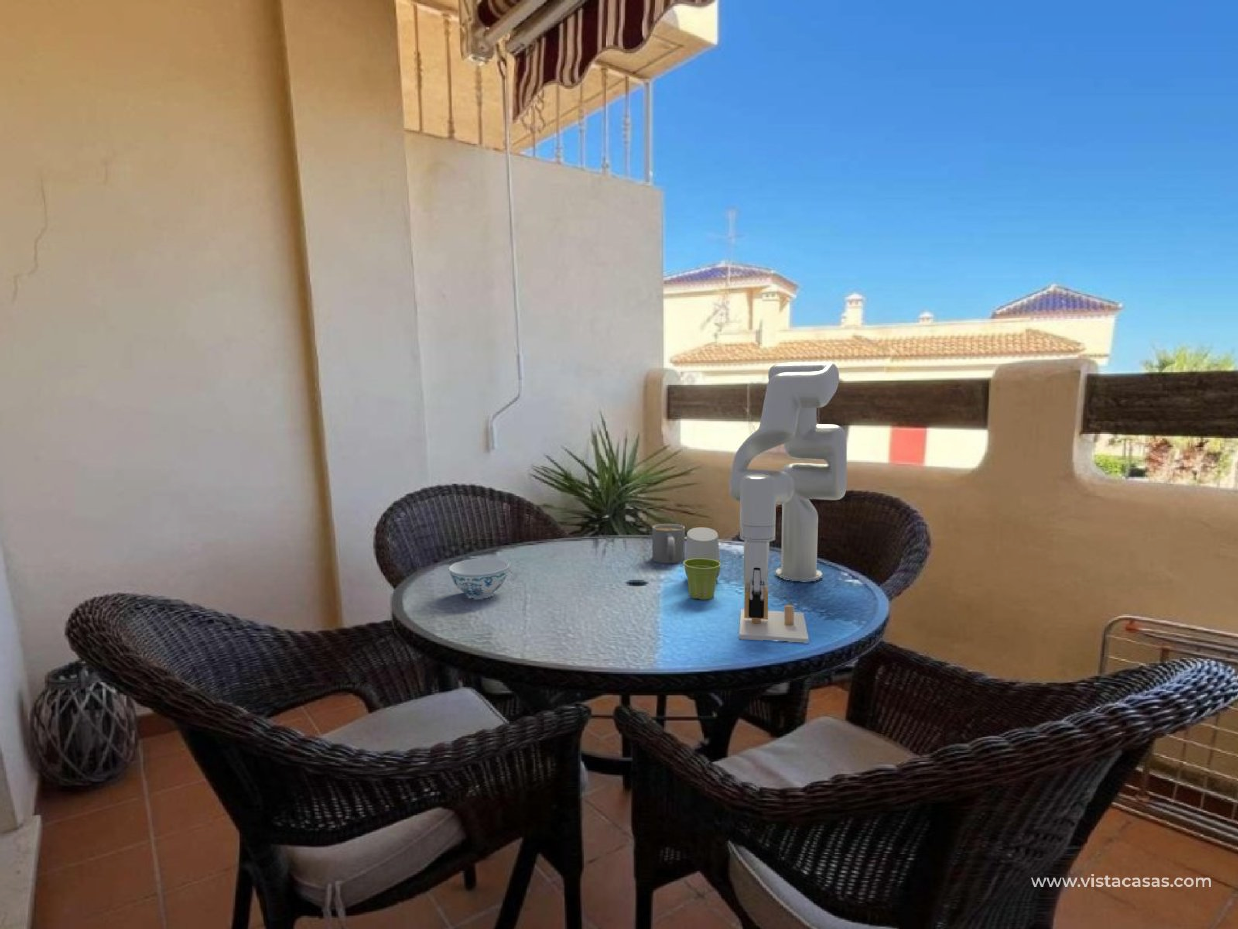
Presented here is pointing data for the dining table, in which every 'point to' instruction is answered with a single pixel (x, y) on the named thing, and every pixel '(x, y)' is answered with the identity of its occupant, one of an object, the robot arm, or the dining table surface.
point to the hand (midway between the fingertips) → (756, 612)
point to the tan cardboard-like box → (747, 597)
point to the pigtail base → (775, 626)
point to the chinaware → (479, 576)
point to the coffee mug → (668, 543)
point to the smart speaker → (702, 544)
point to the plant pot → (701, 577)
